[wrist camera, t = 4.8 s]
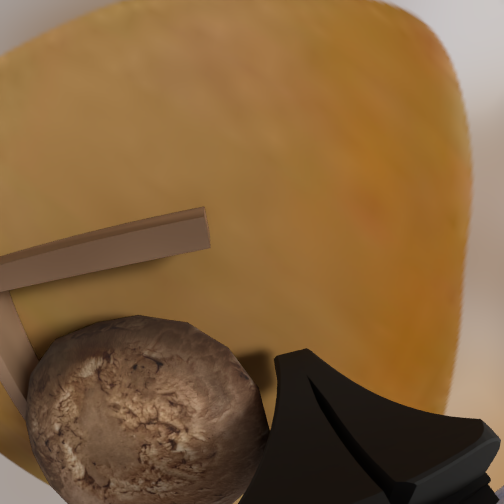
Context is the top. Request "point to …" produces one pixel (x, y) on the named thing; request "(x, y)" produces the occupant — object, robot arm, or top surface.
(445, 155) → the top surface
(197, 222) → the walnut frame
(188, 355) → the mushroom
